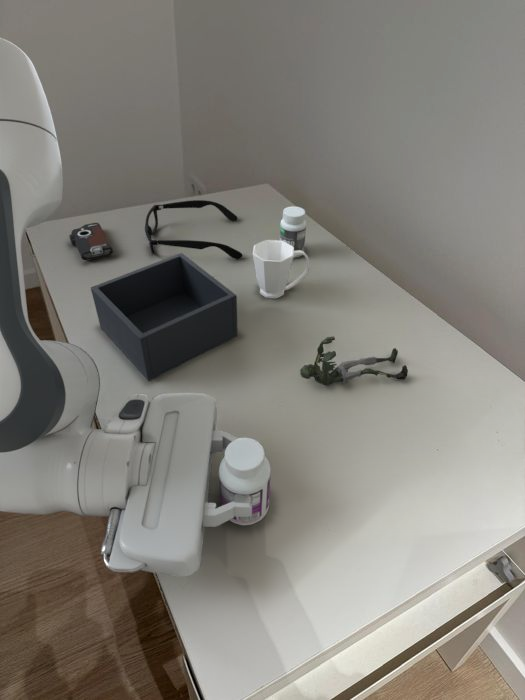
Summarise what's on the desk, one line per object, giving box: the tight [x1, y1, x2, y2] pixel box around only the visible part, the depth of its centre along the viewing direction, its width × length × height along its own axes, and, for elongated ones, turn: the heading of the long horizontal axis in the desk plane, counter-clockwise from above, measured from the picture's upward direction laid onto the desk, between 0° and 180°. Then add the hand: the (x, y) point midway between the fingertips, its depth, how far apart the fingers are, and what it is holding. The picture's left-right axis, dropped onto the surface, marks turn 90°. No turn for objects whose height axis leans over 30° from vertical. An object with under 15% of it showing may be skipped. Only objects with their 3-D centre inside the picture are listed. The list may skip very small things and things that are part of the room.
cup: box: [252, 239, 311, 300], centre depth 86 cm, size 7×10×8 cm
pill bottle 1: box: [218, 437, 272, 526], centre depth 54 cm, size 5×5×10 cm
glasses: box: [144, 199, 244, 260], centre depth 99 cm, size 17×18×5 cm
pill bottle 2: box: [279, 205, 307, 259], centre depth 95 cm, size 5×5×8 cm
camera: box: [68, 222, 114, 261], centre depth 97 cm, size 6×3×11 cm
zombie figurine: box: [299, 335, 409, 386], centre depth 71 cm, size 5×7×15 cm
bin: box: [90, 252, 238, 382], centre depth 77 cm, size 16×15×8 cm
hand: (253, 476), depth 54 cm, fingers closed on pill bottle 1, 5 cm apart
